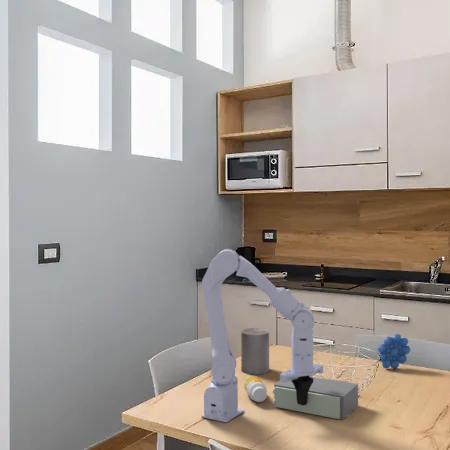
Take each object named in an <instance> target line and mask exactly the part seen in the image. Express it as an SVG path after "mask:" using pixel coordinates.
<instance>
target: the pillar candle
mask: <svg viewBox="0 0 450 450" xmlns="http://www.w3.org/2000/svg"><path fill="white" fill-rule="evenodd" d="M240 333H241V335H240V339H241V342H240V343H241V345H240V346H241V349H240V353H241V355H240V356H241V357H240V358H241V359H240V360H241V361H240V362H241V363H240V364H241V366H240V367H241V370H240V371H241V372H243V373H244V374H247V375H263V374H266V373H268V372H269V371H270V330H268V329H266V328H261V327H260V328H259V327H251V328H243V329H242V330H241V331H240Z"/></svg>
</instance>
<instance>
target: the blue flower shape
mask: <svg viewBox="0 0 450 450" xmlns="http://www.w3.org/2000/svg"><path fill="white" fill-rule="evenodd" d="M408 344H409V340H408V338H407V337H402V336H401V334H400V333H395V334H394V335H393V336H392V337H391V336H387V337H385V338H384V340H383V343H381V344H379V345H378V347H377V351H378V353H379V354H378V355H380V357H381V360H380V362H379V363H382V368H384V369H388V368H391V369H392V368H393V369H397V368H398V367H399V366H400V364H405V363H406V362H407V360H408V358H407V355H409V354H410V352H411V347H410V346H409V345H408Z"/></svg>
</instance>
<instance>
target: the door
mask: <svg viewBox="0 0 450 450" xmlns="http://www.w3.org/2000/svg"><path fill="white" fill-rule="evenodd" d="M272 394H273V395H274V394H275V399H274V398H272V406H274V405H275V406H274V407H275V408H279V409H280V408H281V409H286V410H289V411H296V412H300V413H305V414H310V415H311V414H312V415H316V416H322V417H326V418H332V419H336V420H337V419H338V420H341V419H340V397H335V396H329V395H323V394H317V393H311V392H308V399H307V405H304V406H303V405H300V404H297V394H296V390H294V389H288V388H282V387H275V388H274V387H272Z"/></svg>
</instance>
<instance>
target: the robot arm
mask: <svg viewBox="0 0 450 450" xmlns="http://www.w3.org/2000/svg"><path fill="white" fill-rule="evenodd" d="M235 272H236V275H235V276H237V277H244V278H246V279H248V280H249V281H250V283H252V284H253V285H255V286H256V287H257V288H258V289H259V290H261V291H262V292H263V293H264V294H265V295H267V297H268V304H269V306H271V307H272V308H274V309H275V310H276V311H277V312H278V313H279V314H280V315H281V316H282V317H284V319H286V320H288V321H290V322H291V326H292V327H291V328H292V334H291V348H290V349H291V352H290V353H291V358H290V359H291V362H290V364H291V366H290V369H288V370H286V371H284V372H281V373H279V381H281V382H284V383H287V382H288V381H290V380H291V381H292V383H293V384H294V386H295V389H296V394H297V404H300V405H303V406H304V405H307V399H308V391H309V389H310V387H311V385H312V383H313V378H311V377H315V376H316V374H323V373H324V366H323V365H321V364H314V336H313V334H314V331H313V330H314V327H315V324H316V322H315V318H314V316H313V313H312V312H311V310H309V308H308V307H306V305H305V303H304V302H302V301H301V302H300V301H299V300H298V299H297V298H296V297H295V296H293V295H292V291H291V290H290V289H289V288H288V289H286V288H285V287H276V286H275V285H274V283H272V282H271V281H270V279H268V277H266V276H265V275H264V274H263V273H262V272H261V271H260V270H259V269H258V268H257V267H256V266H255V265H253V263H251V262H250V261H249V260H247V259H246V258H245V257H243V256H242V255H239V254H238V253H237V252H236V250H233V249H231V248H225V249H223V250H221V251H220V252H218V254H216V256H215V257H213V259H212V260H211V261H210V263H209V266H208V268H207V270H206V272H205V274H204V275H203V278H202V280H201V281H202V282H201V285H202V293H203V299H204V304H205V305H204V306H205V311H206V318H207V325H208V332H209V336H210V344H211V347H212V348H211V351H212V353H211V354H212V355H211V356H212V366H211V368H210V374H211V378H210V384H209V385H208V387H206V389H205V391H204V393H203V413H202V414H201V415H200V416H201V418H205V419H209V420H214V421H219V422H223V423H228V422H229V421H231V420H232V419H233V420H234V418H236V417H237V416H239V415H240V414H242V413H244V412H245V409H244V408H239V406H238V403H239V399H238V398H239V397H238V396H239V394H238V392H239V391H238V388H239V387H238V386H239V385H238V384H239V383H238V381H239V380H238V377H237V376H236V367H237V360H236V359H237V358H236V357H235V356H234V354H233V352H232V349H231V345H230V344H231V343H230V342H229V335H228V334H229V333H228V328H227V323H226V321H227V320H226V316H225V310H224V304H223V297H222V292H221V291H222V290H221V285H222V284H223V283H224V281H225V280H226V279H227V278H228V277H230V276H231V275H232V274H234V273H235ZM309 376H310V377H309Z"/></svg>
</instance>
